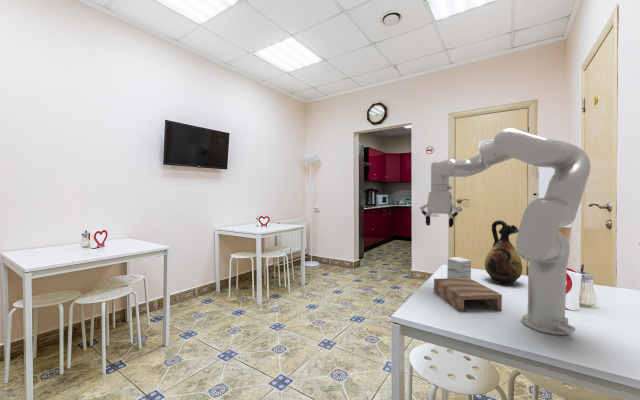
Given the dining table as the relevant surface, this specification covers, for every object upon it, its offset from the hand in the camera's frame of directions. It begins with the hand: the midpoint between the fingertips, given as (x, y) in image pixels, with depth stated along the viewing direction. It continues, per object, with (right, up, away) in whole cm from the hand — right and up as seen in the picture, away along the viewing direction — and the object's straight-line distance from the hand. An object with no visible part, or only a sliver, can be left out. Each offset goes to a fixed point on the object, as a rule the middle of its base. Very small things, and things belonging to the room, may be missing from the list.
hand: (439, 226), depth 126 cm
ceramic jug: (+35, -28, +9) cm, 46 cm away
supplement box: (+11, -29, +4) cm, 31 cm away
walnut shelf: (+4, -29, -14) cm, 32 cm away
